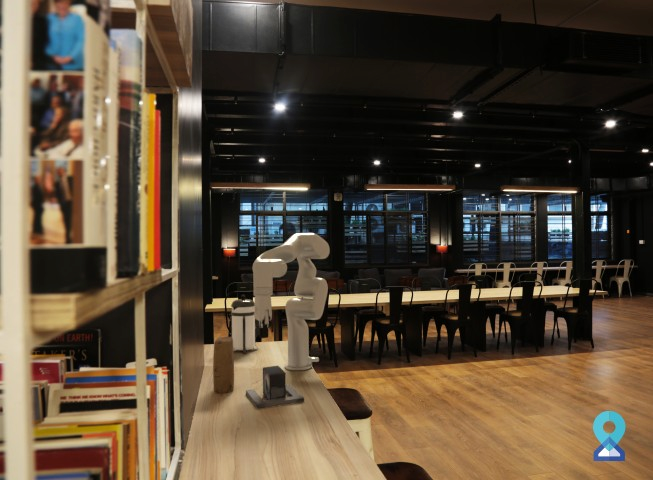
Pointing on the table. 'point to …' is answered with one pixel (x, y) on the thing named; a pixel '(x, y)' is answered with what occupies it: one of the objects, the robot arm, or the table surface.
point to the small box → (274, 383)
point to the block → (223, 365)
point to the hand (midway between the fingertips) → (263, 337)
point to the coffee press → (243, 324)
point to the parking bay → (259, 403)
